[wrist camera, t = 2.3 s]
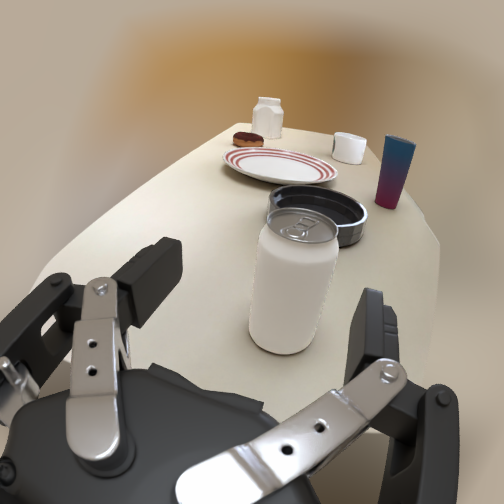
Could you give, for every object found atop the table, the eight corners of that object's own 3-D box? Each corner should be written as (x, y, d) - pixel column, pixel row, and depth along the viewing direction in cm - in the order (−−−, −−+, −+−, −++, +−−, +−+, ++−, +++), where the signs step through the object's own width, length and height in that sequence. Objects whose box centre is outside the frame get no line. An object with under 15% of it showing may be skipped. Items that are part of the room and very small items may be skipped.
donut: (264, 150, 91) (265, 137, 89) (232, 148, 90) (232, 135, 88) (262, 143, 99) (263, 132, 97) (233, 141, 98) (233, 130, 96)
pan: (328, 201, 59) (332, 184, 57) (380, 243, 47) (386, 222, 45) (252, 206, 54) (254, 186, 52) (294, 255, 42) (299, 231, 39)
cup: (366, 201, 62) (380, 134, 54) (378, 195, 67) (392, 134, 58) (393, 213, 58) (410, 144, 50) (403, 207, 63) (420, 144, 54)
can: (234, 336, 29) (243, 223, 22) (269, 301, 33) (285, 198, 27) (294, 368, 26) (326, 256, 19) (322, 326, 31) (353, 222, 24)
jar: (247, 135, 108) (251, 97, 100) (254, 132, 116) (257, 96, 108) (278, 140, 106) (282, 100, 98) (282, 136, 114) (287, 99, 106)
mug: (363, 167, 87) (368, 142, 83) (330, 160, 89) (335, 135, 84) (359, 157, 98) (363, 135, 94) (330, 151, 100) (333, 129, 96)
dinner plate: (308, 159, 87) (310, 148, 85) (356, 195, 64) (359, 181, 63) (215, 156, 80) (215, 145, 78) (233, 194, 58) (234, 178, 56)
